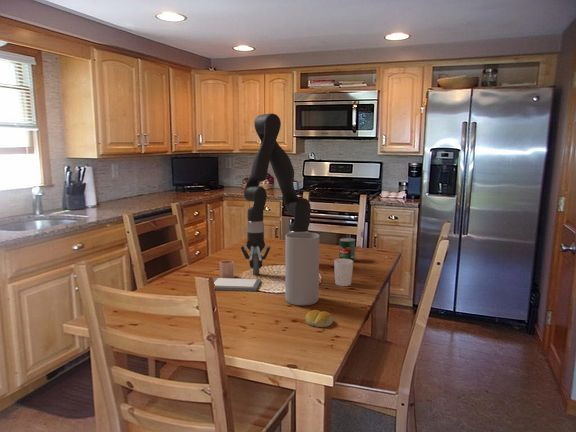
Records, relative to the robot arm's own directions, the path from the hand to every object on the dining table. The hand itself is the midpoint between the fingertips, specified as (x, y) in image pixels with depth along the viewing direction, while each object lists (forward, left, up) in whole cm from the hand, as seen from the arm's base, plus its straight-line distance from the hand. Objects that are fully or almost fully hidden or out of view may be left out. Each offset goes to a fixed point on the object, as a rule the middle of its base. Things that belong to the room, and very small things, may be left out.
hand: (255, 267), depth 197 cm
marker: (0, 0, -3) cm, 3 cm away
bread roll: (-30, +52, -4) cm, 60 cm away
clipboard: (+6, +17, -3) cm, 18 cm away
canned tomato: (-42, -29, -3) cm, 51 cm away
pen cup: (+12, +6, -3) cm, 14 cm away
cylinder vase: (-23, +32, -3) cm, 40 cm away
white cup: (-39, +10, -3) cm, 40 cm away
